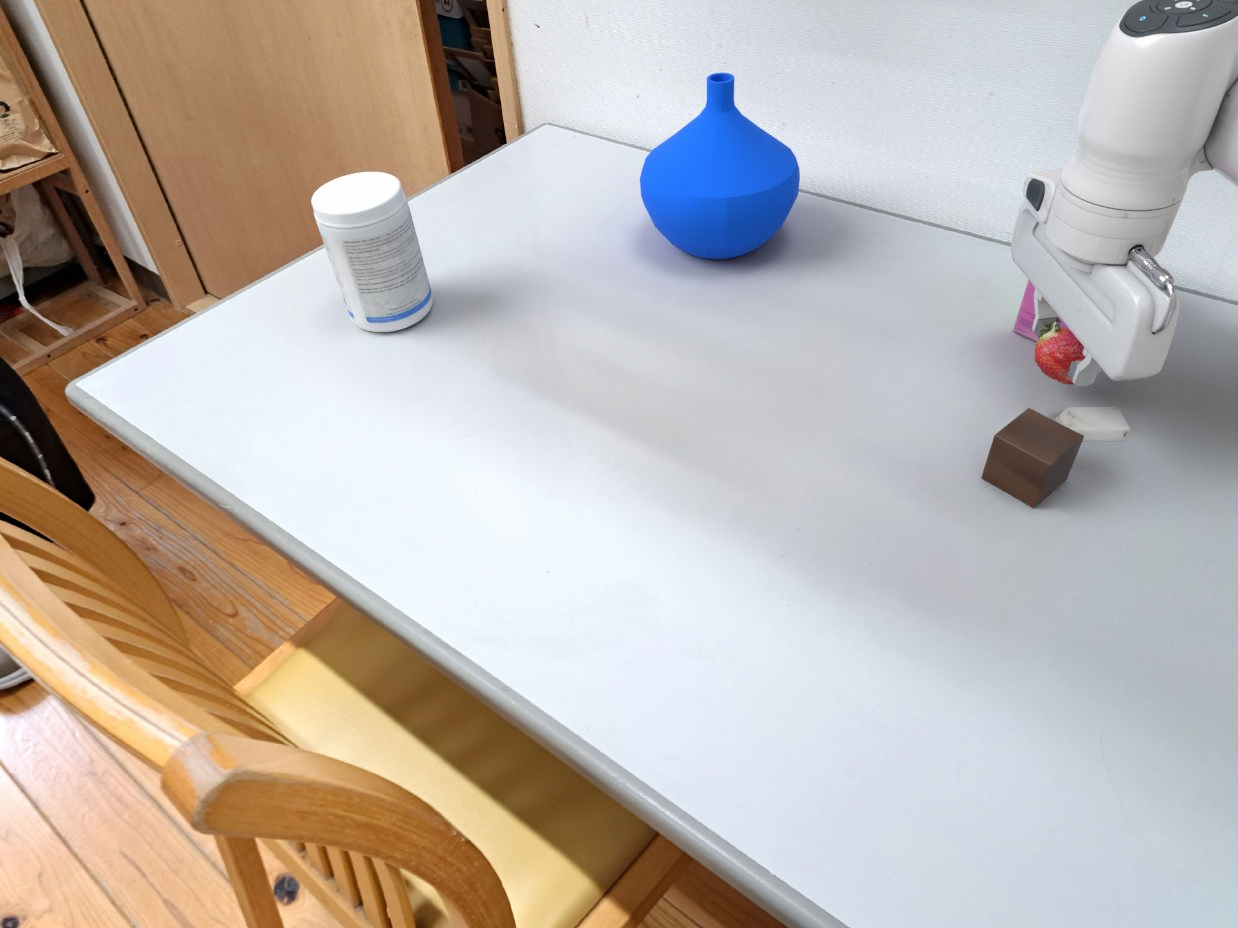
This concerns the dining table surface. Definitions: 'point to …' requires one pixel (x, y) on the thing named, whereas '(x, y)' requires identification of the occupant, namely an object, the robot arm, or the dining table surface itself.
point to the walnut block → (1031, 457)
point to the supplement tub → (373, 250)
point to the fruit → (1058, 353)
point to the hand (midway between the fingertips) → (1060, 357)
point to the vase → (719, 180)
